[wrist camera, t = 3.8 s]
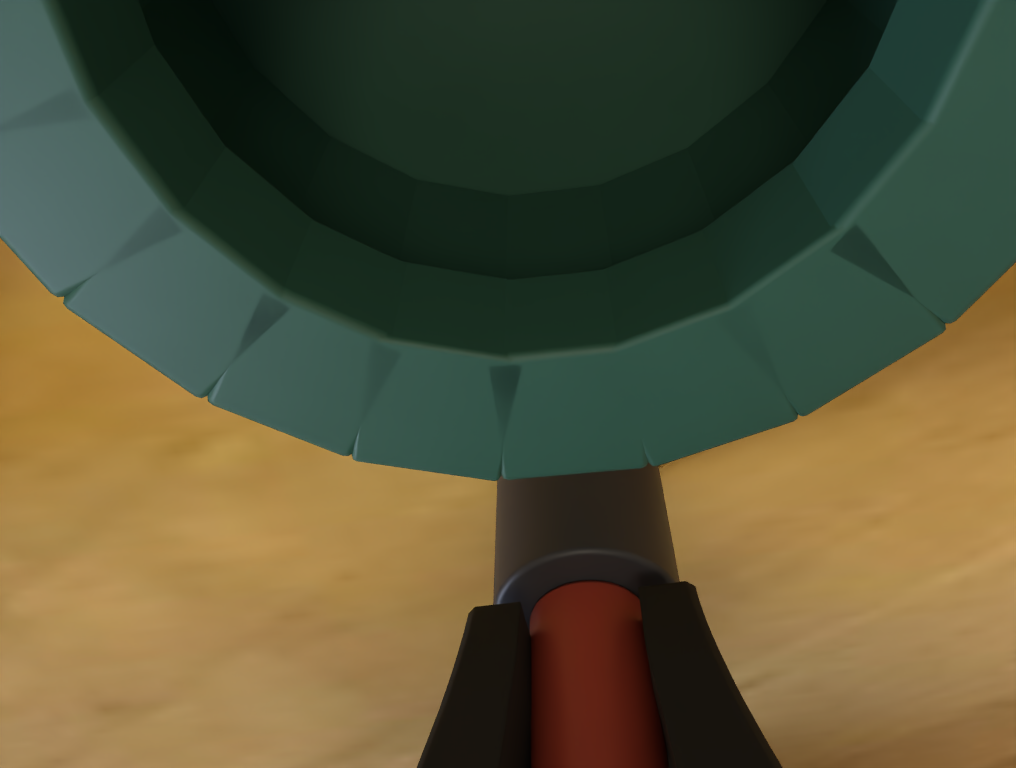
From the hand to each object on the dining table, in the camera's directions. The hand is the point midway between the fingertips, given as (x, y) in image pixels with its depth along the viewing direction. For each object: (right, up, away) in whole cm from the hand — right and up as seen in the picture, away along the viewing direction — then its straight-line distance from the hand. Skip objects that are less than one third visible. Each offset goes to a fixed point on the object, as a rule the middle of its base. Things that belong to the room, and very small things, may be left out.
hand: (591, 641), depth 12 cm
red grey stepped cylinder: (0, +2, +3) cm, 3 cm away
